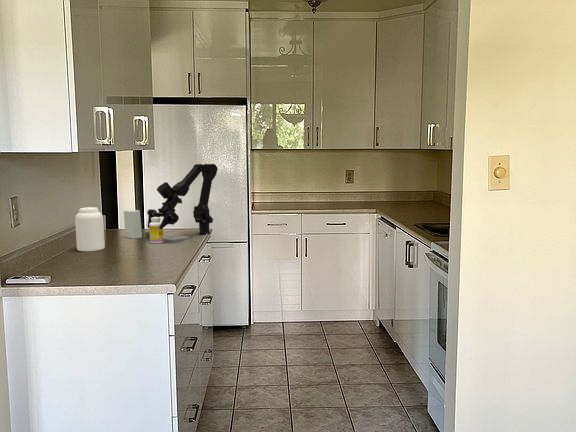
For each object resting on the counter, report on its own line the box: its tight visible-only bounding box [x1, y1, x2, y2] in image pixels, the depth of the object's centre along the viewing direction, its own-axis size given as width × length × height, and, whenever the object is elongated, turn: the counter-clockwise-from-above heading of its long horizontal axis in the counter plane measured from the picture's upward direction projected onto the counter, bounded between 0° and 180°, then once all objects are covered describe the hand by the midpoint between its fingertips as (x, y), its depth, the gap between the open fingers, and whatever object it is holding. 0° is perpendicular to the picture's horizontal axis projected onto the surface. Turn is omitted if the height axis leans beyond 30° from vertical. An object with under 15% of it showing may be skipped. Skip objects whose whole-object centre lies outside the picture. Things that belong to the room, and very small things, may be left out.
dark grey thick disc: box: [144, 231, 150, 240], centre depth 288 cm, size 8×8×3 cm
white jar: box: [74, 206, 106, 253], centre depth 256 cm, size 12×12×20 cm
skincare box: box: [123, 209, 143, 240], centre depth 289 cm, size 8×6×15 cm
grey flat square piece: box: [163, 234, 191, 243], centre depth 282 cm, size 12×12×1 cm
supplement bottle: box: [148, 217, 164, 245], centre depth 273 cm, size 7×7×13 cm
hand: (154, 228), depth 271 cm, fingers open, 9 cm apart
